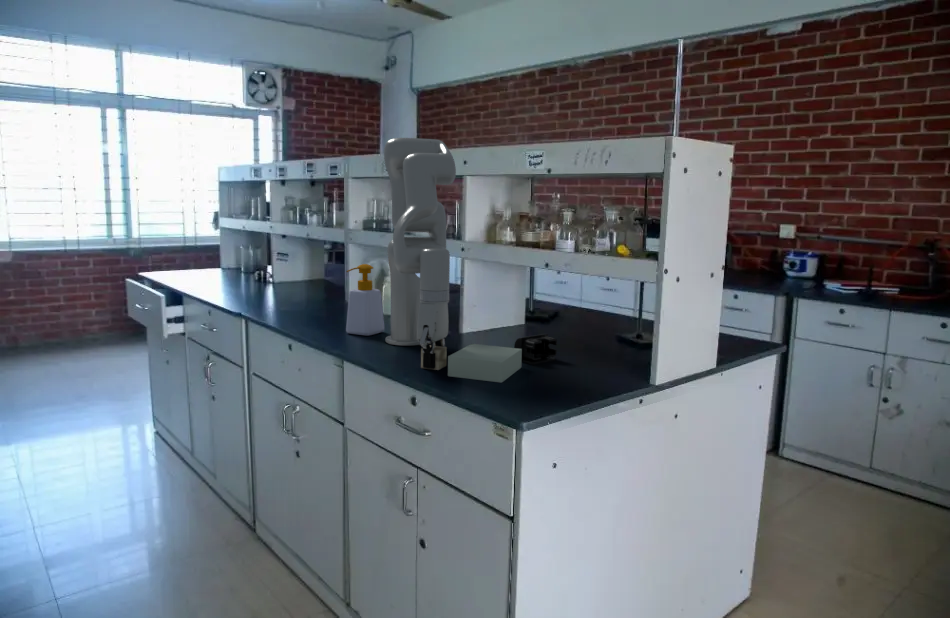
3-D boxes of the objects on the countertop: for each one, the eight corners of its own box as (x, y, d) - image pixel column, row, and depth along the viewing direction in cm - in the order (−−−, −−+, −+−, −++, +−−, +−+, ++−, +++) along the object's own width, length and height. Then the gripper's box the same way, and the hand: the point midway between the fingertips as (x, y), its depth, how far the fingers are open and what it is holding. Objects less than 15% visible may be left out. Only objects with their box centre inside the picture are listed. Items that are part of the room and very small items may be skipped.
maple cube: (429, 363, 177) (429, 345, 177) (446, 365, 176) (446, 347, 175) (420, 368, 173) (421, 349, 172) (438, 370, 171) (438, 351, 170)
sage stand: (471, 361, 180) (471, 343, 179) (521, 367, 175) (521, 348, 174) (447, 376, 165) (448, 356, 164) (501, 382, 160) (502, 362, 160)
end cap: (539, 355, 190) (540, 331, 189) (557, 360, 185) (558, 336, 183) (513, 360, 184) (514, 335, 183) (531, 365, 178) (532, 340, 177)
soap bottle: (335, 336, 209) (334, 265, 206) (362, 329, 222) (362, 262, 218) (359, 339, 205) (359, 267, 201) (386, 332, 217) (386, 263, 214)
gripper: (434, 291, 180) (434, 357, 183) (406, 299, 165) (405, 371, 168) (460, 293, 178) (459, 360, 181) (434, 301, 162) (433, 375, 165)
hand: (433, 364), depth 174 cm, fingers closed on maple cube, 5 cm apart
